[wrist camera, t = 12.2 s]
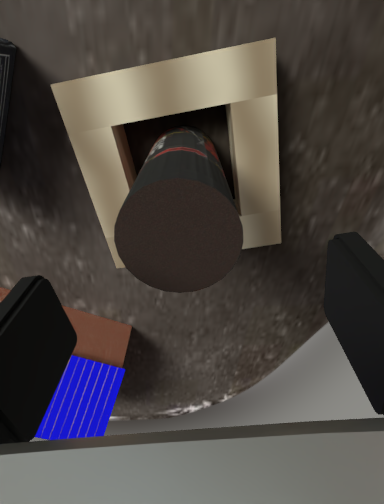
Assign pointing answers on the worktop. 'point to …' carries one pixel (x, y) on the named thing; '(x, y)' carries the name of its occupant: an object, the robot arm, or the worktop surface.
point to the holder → (172, 102)
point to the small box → (5, 84)
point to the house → (86, 378)
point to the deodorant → (179, 216)
